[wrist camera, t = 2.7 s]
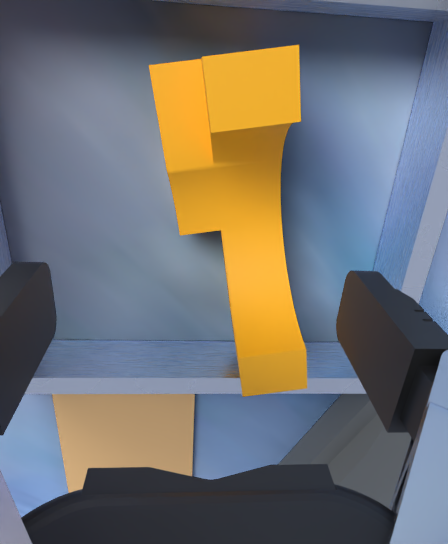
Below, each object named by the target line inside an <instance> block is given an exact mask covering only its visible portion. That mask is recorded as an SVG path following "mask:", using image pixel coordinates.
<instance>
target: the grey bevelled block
mask: <svg viewBox="0 0 448 544" xmlns="http://www.w3.org/2000/svg"><path fill="white" fill-rule="evenodd" d="M410 440H411V436H410V434H409V433H408V432H405V433H387V431H386V429H385V427H384V425H383V423H382V421H381V420H380V418H379V416H378V414H377V412H376V410H375V408H374V406H373V405H372V403H371V401H370V399H369V397H368V395H367V394H341V396H340V397H339V398H338V399H337V400H336V401H335V402H334V403H333V404H332V405H331V407H330V408H329V409H328V410H327V411H326V412H325V413H324V414H323V415H322V417H321V418H320V419H319V420H318V421H317V422H316V423H315V424H314V425H313V426H312V428H311V429H310V430H309V431H308V432H307V433H306V434H305V435H304V436H303V438H302V439H301V440H300V441H299V442H298V443H297V444H296V445H295V446H294V448H293V449H292V450H291V451H290V452H289V453H288V454H287V455H286V456H285V457H284V459H283V460H282V461H281V462H280V463H279V464H278V465H294V464H328V467H329V470H330V473H331V476H332V479H333V482H334V484H336V485H340V486H343V487H346V488H349V489H352V490H355V491H357V492H360V493H362V494H364V495H366V496H368V497H370V498H372V499H374V500H376V501H377V502H379V503H381V504H383V505H384V506H386V507H387V508H389V506H390V503H391V499H392V496H393V493H394V490H395V487H396V483H397V480H398V477H399V474H400V471H401V467H402V464H403V461H404V458H405V455H406V451H407V448H408V446H409V443H410Z"/></svg>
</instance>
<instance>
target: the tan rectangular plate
mask: <svg viewBox="0 0 448 544" xmlns="http://www.w3.org/2000/svg"><path fill="white" fill-rule="evenodd" d="M52 397H53V403H54V409H55V415H56V421H57V426H58V432H59V438H60V444H61V450H62V456H63V462H64V468H65V473H66V479H67V485H68V491H69V493H70V492H73V491H77V490H80V489H83V485H84V481H85V477H86V474H87V470H88V468H119V467H151V468H156V469H161V470H165V471H170V472H174V473H179V474H183V475H188V476H192V463H193V432H194V402H195V394H52Z"/></svg>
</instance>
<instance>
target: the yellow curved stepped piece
mask: <svg viewBox="0 0 448 544" xmlns="http://www.w3.org/2000/svg"><path fill="white" fill-rule="evenodd" d="M149 70H150V76H151V81H152V87H153V93H154V99H155V104H156V110H157V116H158V122H159V128H160V133H161V139H162V145H163V151H164V157H165V162H166V168H167V173H168V177H169V181H170V185H171V190H172V194H173V199H174V204H175V209H176V215H177V220H178V226H179V232H180V235H187V234H195V233H203V232H211V231H219V230H221V237H222V246H223V254H224V262H225V270H226V279H227V287H228V295H229V303H230V311H231V318H232V325H233V332H234V339H235V346H236V353H237V360H238V367H239V374H240V381H241V388H242V395H243V397H245V396H252V395H260V394H268V393H276V392H283V391H291V390H299V389H307V353H306V347H305V344H304V341H303V338H302V335H301V332H300V328H299V325H298V321H297V317H296V313H295V309H294V305H293V300H292V295H291V290H290V285H289V279H288V273H287V266H286V259H285V251H284V242H283V232H282V218H281V164H282V154H283V147H284V142H285V138H286V134H287V132H288V129H289V127H290V126H291V124H292V123H294V122H301V104H300V63H299V45H292V46H284V47H276V48H268V49H260V50H252V51H244V52H236V53H228V54H220V55H212V56H204V57H202V58H201V59H195V60H187V61H179V62H171V63H163V64H155V65H149Z"/></svg>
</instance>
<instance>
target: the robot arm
mask: <svg viewBox="0 0 448 544" xmlns="http://www.w3.org/2000/svg"><path fill="white" fill-rule="evenodd" d="M55 330H56V309H55V302H54V295H53V288H52V281H51V274H50V269H49V266H48V264H47V263H45V262H13V263H12V264H11V265H10V266H9V268H8V269H7V270H6V271H5V272H4V273H3V274H2V275H1V276H0V435H3V434H4V432H5V430H6V428H7V426H8V425H9V423H10V421H11V419H12V417H13V415H14V413H15V411H16V409H17V407H18V405H19V403H20V401H21V399H22V397H23V395H24V394H25V392H26V390H27V388H28V386H29V384H30V382H31V380H32V378H33V376H34V374H35V372H36V370H37V368H38V366H39V364H40V362H41V361H42V359H43V357H44V355H45V353H46V351H47V349H48V347H49V345H50V343H51V341H52V339H53V337H54V334H55ZM336 330H337V337H338V340H339V342H340V344H341V346H342V348H343V350H344V352H345V354H346V356H347V357H348V359H349V361H350V363H351V365H352V367H353V369H354V371H355V373H356V374H357V376H358V378H359V380H360V382H361V384H362V386H363V388H364V389H365V391H366V393H367V395H368V397H369V399H370V401H371V403H372V405H373V406H374V408H375V410H376V412H377V414H378V416H379V418H380V420H381V421H382V423H383V425H384V427H385V429H386V431H387V433H405V432H408V433H409V434H410V436H411V440H410V443H409V446H408V448H407V451H406V455H405V458H404V461H403V464H402V467H401V471H400V474H399V477H398V480H397V483H396V487H395V490H394V493H393V496H392V499H391V503H390V506H389V508H387V507H386V506H384V505H383V504H381V503H379V502H377V501H376V500H374V499H372V498H370V497H368V496H366V495H364V494H362V493H360V492H357V491H355V490H352V489H349V488H346V487H343V486H340V485H336V484H334V482H333V479H332V476H331V473H330V470H329V467H328V464H294V465H268V466H265V467H261V468H257V469H253V470H250V471H246V472H242V473H238V474H234V475H231V476H227V477H223V478H219V479H214V480H207V479H202V478H197V477H192V476H188V475H183V474H179V473H174V472H170V471H165V470H161V469H156V468H151V467H119V468H88V470H87V474H86V477H85V481H84V485H83V489H80V490H77V491H73V492H70V493H68V494H65V495H62V496H60V497H57V498H55V499H53V500H51V501H49V502H47V503H45V504H43V505H41V506H39V507H37V508H36V509H34V510H32V511H31V512H29V513H27V514H26V515H25V516H23V517H22V518H21V517H20V515H19V512H18V510H17V508H16V505H15V503H14V501H13V498H12V496H11V494H10V492H9V489H8V487H7V485H6V482H5V480H4V478H3V475H2V473H1V471H0V544H448V335H447V334H446V333H445V332H444V331H443V330H442V328H441V327H440V326H439V325H438V324H437V323H436V322H433V319H432V318H431V317H430V316H429V315H428V314H427V313H426V312H424V309H423V308H422V307H421V306H420V305H419V304H418V303H417V302H416V301H415V300H414V299H413V298H411V297H410V296H408V295H406V294H404V293H403V292H401V291H399V290H398V289H394V288H393V286H392V285H391V284H390V283H389V282H388V281H387V280H386V279H385V278H384V276H383V275H382V274H381V273H380V272H378V271H350V272H349V273H348V274H347V276H346V279H345V284H344V288H343V293H342V298H341V302H340V307H339V312H338V316H337V323H336Z"/></svg>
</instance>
